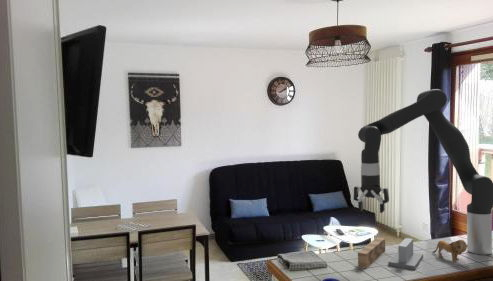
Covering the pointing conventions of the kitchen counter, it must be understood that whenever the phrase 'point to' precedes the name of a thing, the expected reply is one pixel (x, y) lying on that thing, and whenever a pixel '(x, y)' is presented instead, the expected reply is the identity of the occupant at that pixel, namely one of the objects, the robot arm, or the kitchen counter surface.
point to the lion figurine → (452, 248)
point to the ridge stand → (406, 256)
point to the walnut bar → (371, 252)
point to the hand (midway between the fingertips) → (371, 211)
